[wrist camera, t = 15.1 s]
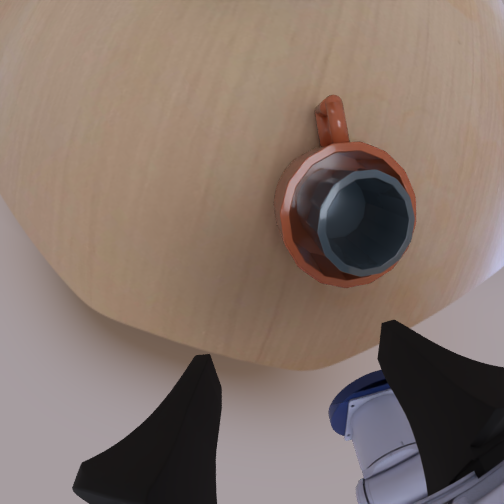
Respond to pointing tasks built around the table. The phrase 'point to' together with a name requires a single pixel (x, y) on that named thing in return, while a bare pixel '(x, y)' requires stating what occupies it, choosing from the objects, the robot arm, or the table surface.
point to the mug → (327, 156)
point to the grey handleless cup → (357, 218)
